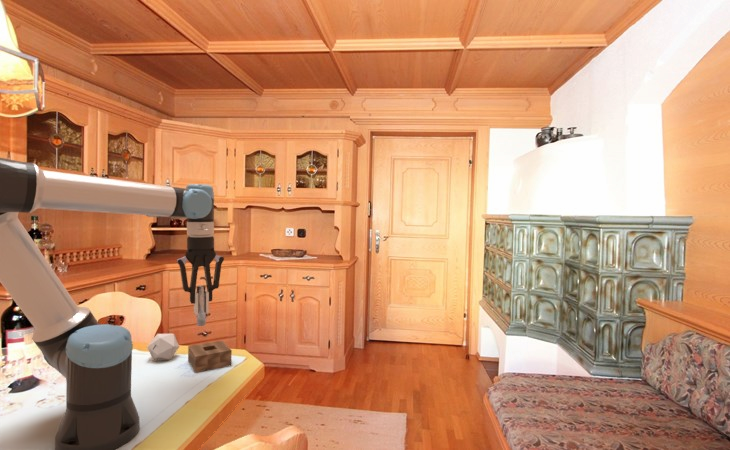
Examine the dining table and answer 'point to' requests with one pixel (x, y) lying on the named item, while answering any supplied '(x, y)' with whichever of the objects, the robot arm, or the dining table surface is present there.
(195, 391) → the dining table surface
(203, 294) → the pin
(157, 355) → the die
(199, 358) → the socket block
